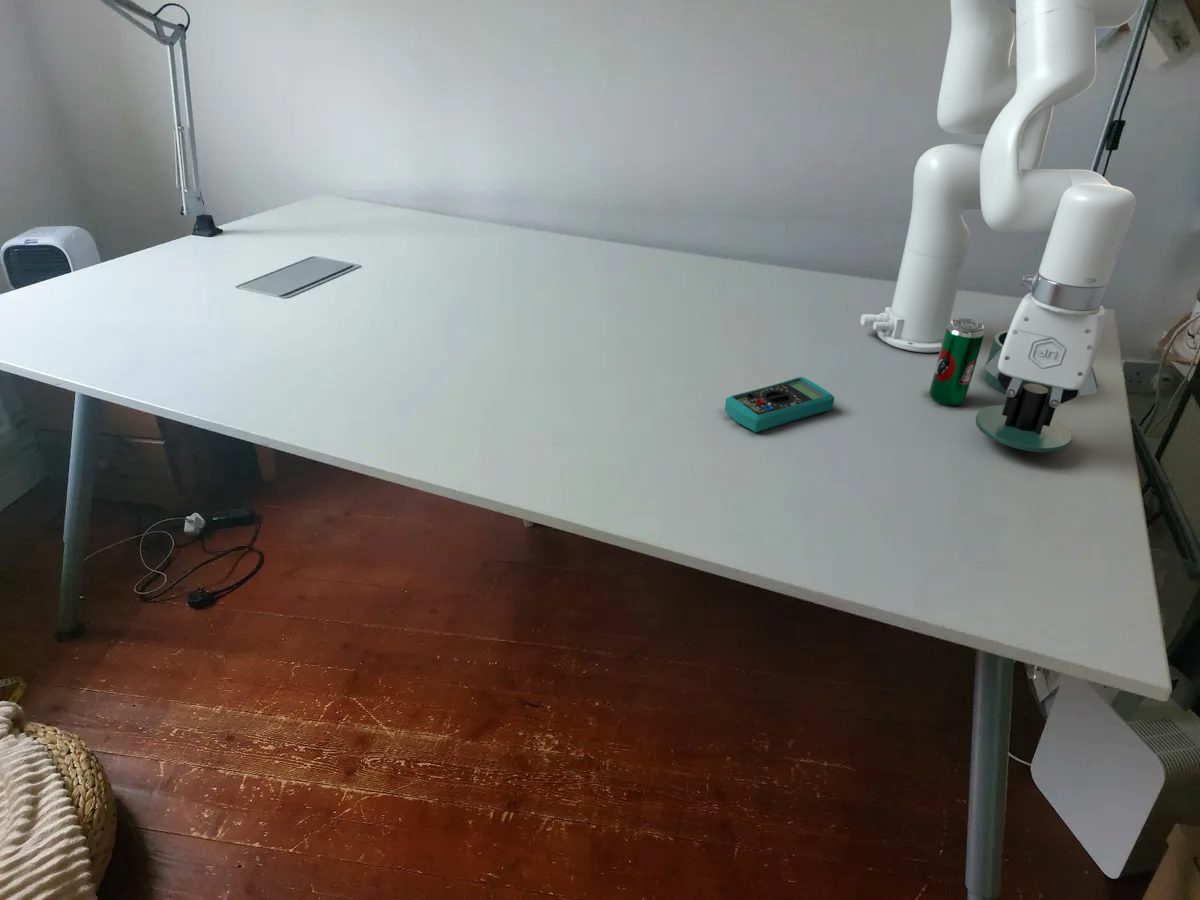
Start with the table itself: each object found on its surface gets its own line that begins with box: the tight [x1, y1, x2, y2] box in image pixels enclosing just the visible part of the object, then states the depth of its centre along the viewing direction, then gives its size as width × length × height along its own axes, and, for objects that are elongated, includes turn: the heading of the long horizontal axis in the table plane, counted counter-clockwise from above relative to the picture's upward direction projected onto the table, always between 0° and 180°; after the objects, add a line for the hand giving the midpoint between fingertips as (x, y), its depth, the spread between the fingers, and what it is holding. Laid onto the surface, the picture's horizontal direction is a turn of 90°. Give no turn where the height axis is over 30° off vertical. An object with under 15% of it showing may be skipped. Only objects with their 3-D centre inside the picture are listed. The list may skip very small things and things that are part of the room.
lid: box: [975, 383, 1073, 453], centre depth 105 cm, size 12×12×7 cm
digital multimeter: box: [724, 376, 835, 433], centre depth 114 cm, size 7×15×3 cm, turn 119°
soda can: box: [928, 317, 985, 407], centre depth 116 cm, size 5×5×12 cm
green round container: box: [982, 329, 1053, 399], centre depth 122 cm, size 11×11×6 cm
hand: (1024, 423), depth 106 cm, fingers closed on lid, 3 cm apart
